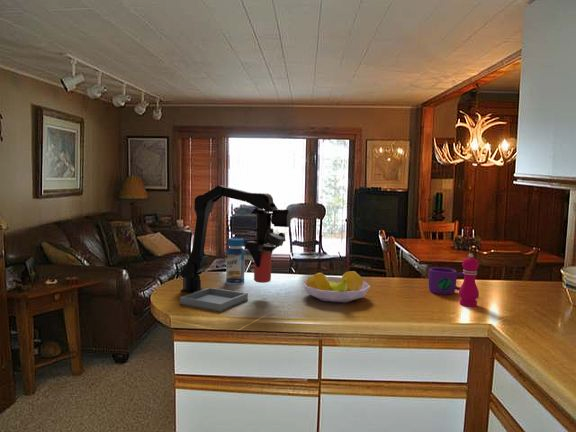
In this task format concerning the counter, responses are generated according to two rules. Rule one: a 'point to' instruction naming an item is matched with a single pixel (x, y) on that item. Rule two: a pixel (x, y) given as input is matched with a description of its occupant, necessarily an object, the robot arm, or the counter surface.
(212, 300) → the tray
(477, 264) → the pepper mill
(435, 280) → the mug
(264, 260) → the beer can
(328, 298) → the fruit bowl
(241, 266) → the beverage bottle
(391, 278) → the counter surface
